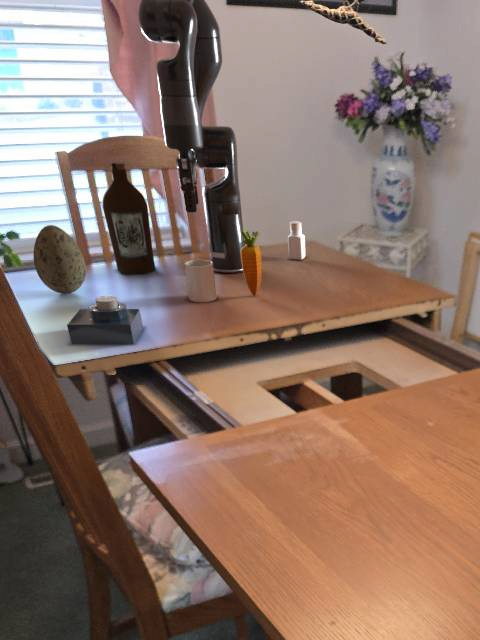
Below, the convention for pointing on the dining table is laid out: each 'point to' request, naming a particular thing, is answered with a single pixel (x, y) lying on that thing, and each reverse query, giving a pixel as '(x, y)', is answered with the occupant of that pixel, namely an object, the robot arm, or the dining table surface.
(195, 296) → the cup
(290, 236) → the pepper shaker
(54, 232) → the decorative egg
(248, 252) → the carrot
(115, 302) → the pump
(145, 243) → the olive oil
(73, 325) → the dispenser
